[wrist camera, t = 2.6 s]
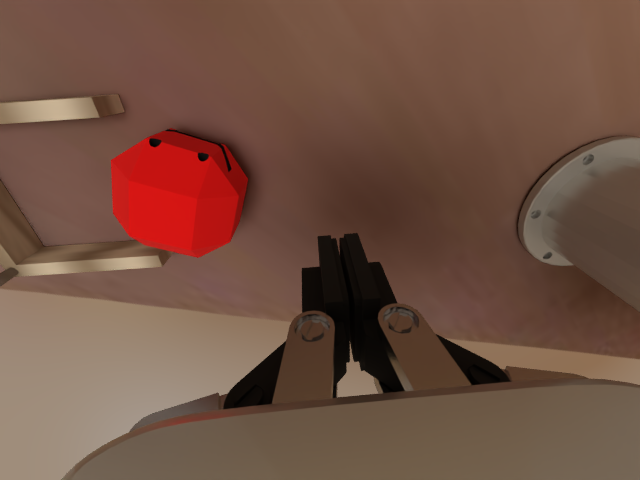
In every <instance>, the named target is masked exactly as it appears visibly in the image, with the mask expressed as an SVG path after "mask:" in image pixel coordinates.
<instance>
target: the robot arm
mask: <svg viewBox="0 0 640 480" xmlns="http://www.w3.org/2000/svg"><path fill="white" fill-rule="evenodd" d="M518 235H519V238H520V241H521V243H522V245H523V246H524V248H525V249H526V250H527V251H528V252H529V253H530V254H531V255H532V256H534V257H535V258H536V259H538V260H539V261H541V262H544V263H547V264H550V265H557V266H570V265H575V266H576V267H578V268H579V269H581V270H582V271H583V272H585V273H586V274H587V275H589V276H590V277H592V278H593V279H594V280H596V281H597V282H599V283H600V284H601V285H603V286H604V287H606V288H607V289H608V290H610V291H611V292H612V293H614V294H615V295H617V296H618V297H619V298H621V299H622V300H624V301H625V302H626V303H628V304H629V305H631V306H632V307H633V308H635V309H636V310H637V311H639V312H640V138H638V137H632V136H617V137H610V138H606V139H602V140H598V141H595V142H593V143H590V144H588V145H586V146H583V147H581V148H579V149H578V150H576V151H574V152H572V153H571V154H569V155H567V156H566V157H564V158H563V159H562V160H560V161H559V162H558V163H556V164H555V165H554V166H553V167H552V168H551V169H550V170H549V171H547V172H546V173H545V174H544V175H543V176H542V177H541V178H540V180H539V181H538V182H537V184H536V185H535V186H534V187H533V189H532V190H531V192H530V193H529V195H528V197H527V198H526V200H525V202H524V204H523V207H522V210H521V212H520V216H519V222H518ZM339 242H340V255H339V251H338V246H337V241H336V238H333V239H331V236H330V235H328V236H318V249H319V263H320V267H310V268H302V313H301V314H300V315H298V316H296V317H295V318H294V320H293V321H292V322H291V325H290V327H289V332H288V336H287V340H286V341H285V342H284V343H283V344H282V345H281V346H280V347H278V348H277V349H276V350H275V351H274V352H273V353H271V354H270V355H269V356H268V357H267V358H266V359H265V360H264V361H262V362H261V363H260V364H259V365H258V366H257V367H255V368H254V369H253V370H252V371H251V372H250V373H249V374H247V375H246V376H245V377H244V378H243V379H242V380H240V382H238V383H237V384H236V385H235V386H234V387H233V388H232V389H231V390H230V392H229V393H228V394H225V395H221V396H219V393H216V394H213V395H210V396H207V397H203V398H200V399H197V400H194V401H190V402H188V403H184V404H181V405H178V406H174V407H171V408H168V409H165V410H162V411H159V412H155V413H152V414H150V415H148V416H146V417H144V418H143V419H141V420H140V421H139V422H138V423H137V424H135V425H134V427H133V428H132V429H131V430H130V432H129V433H126V434H124V435H122V436H120V437H118V438H116V439H114V440H112V441H110V442H108V443H107V444H105V445H103V446H101V447H100V448H98V449H97V450H95V451H93V452H92V453H90V454H89V455H87V456H86V457H85V458H84V459H82V460H81V461H80V462H79V463H77V464H76V465H75V466H74V467H73V468H72V469H71V470H70V471H69V472H68V473H67V474H66V475H65V476H64V477H63V478H62V479H61V480H640V385H637V384H632V383H627V382H620V381H613V380H605V379H588V378H586V377H584V376H580V375H576V374H570V373H562V372H552V371H544V370H536V369H527V368H519V367H510V366H506V368H505V370H504V369H500V368H499V367H498V366H496V365H495V364H493V363H492V362H490V361H488V360H486V359H484V358H482V357H480V356H478V355H476V354H474V353H472V352H470V351H468V350H466V349H464V348H462V347H460V346H458V345H456V344H454V343H452V342H450V341H449V340H447V339H445V338H443V337H441V336H439V335H437V334H435V333H434V332H433V330H432V329H431V327H430V326H429V325H428V323H427V322H426V320H425V319H424V318H423V316H422V315H421V314H420V313H419V312H418V311H417V310H416V309H414V308H413V307H411V306H408V305H405V304H399V303H397V301H396V299H395V296H394V294H393V292H392V289H391V287H390V285H389V282H388V280H387V277H386V275H385V273H384V270H383V268H382V266H381V264H380V262H370V263H368V261H367V258H366V255H365V253H364V250H363V247H362V244H361V241H360V239H359V236H358V233H353V234H344V238H340V240H339ZM350 344H351V349H352V355H353V359H354V362H357V361H359V363H360V368H361V371H363V370H365V371H366V372H368V373H369V374H370V375H372V376H373V377H374V382H375V386H376V388H377V391H378V393H379V394H370V395H359V396H349V397H338V398H337V383H338V382H339V381H340V379H341V378H342V377H343V376H344V375H345V373H346V362H349V361H350Z"/></svg>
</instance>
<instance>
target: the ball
mask: <svg viewBox="0 0 640 480" xmlns="http://www.w3.org/2000/svg"><path fill="white" fill-rule="evenodd" d="M111 172H112V196H113V214H114V215H115V217H116V218H117V219H118V221H119V222H120V224H121V225H122V226H123V228H124V229H125V231H126V232H127V234H128V235H129V236H130V237H132V238H133V239H135V240H137V241H138V242H140V243H142V244H143V245H145V246H150V247H154V248H158V249H163V250H167V251H171V252H176V253H180V254H184V255H189V256H193V257H197V258H199V257H201V256H203V255H205V254H207V253H209V252H211V251H213V250H215V249H217V248H219V247H221V246H223V245H225V244H227V243H229V242H230V241H231V239H232V237H233V235H234V232H235V230H236V228H237V226H238V224H239V222H240V217H241V212H242V207H243V203H244V198H245V193H246V188H247V183H248V178H247V177H246V175H245V174H244V172H243V171H242V169H241V168H240V166H239V165H238V163H237V162H236V160H235V159H234V157H233V156H232V154H231V153H230V151H229V150H228V148H227V147H226V145H224V144H217V143H214V142H211V141H207V140H204V139H201V138H198V137H194V136H191V135H188V134H185V133H182V132H178V131H177V130H175V129H172V128H170V129H168V130H166V131H163V132H160V133H158V134H155V135H153V136H150V137H148V138H146V139H144V140H143V141H141V142H139V143H138V144H136V145H135V146H133V147H131V148H130V149H128V150H127V151H125V152H123V153H122V154H120V155H119V156H117V157H115V158H114V159H112V160H111Z"/></svg>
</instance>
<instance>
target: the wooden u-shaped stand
mask: <svg viewBox="0 0 640 480" xmlns="http://www.w3.org/2000/svg"><path fill="white" fill-rule="evenodd" d="M123 112H125V111H124V108H123V106H122V103H121V100H120V98H119V95H118V94H115V95H100V96H85V97H70V98H55V99H40V100H25V101H10V102H0V124H9V123H24V122H39V121H54V120H69V119H84V118H99V117H104V116H109V115H114V114H118V113H123ZM172 253H173V252H171V251H167V250H163V249H158V248H154V247H150V246H145V245H143V244H142V243H140V242H138V241H137V240H134V241H120V242H105V243H90V244H76V245H61V246H47V247H44V246H43V244H42V243H41V241H40V240H39V238H38V237H37V235H36V234H35V232H34V231H33V229H32V228H31V226H30V225H29V223H28V221H27V220H26V218H25V217H24V215H23V214H22V212H21V211H20V209H19V208H18V206H17V205H16V203H15V202H14V200H13V199H12V197H11V196H10V194H9V192H8V191H7V189H6V188H5V186H4V185H3V183H2V182H1V180H0V264H1V265H2V267H3V268H4V269H5V271H3V272H2V273H0V286H2V285H3V284H4V283H6V282H7V281H9V280H10V279H12V278H13V277H19V276H34V275H49V274H63V273H78V272H92V271H107V270H121V269H136V268H150V267H163V265H164V264H165V263H166V261H167V260H168V259H169V257H170V256H171V255H172Z"/></svg>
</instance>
